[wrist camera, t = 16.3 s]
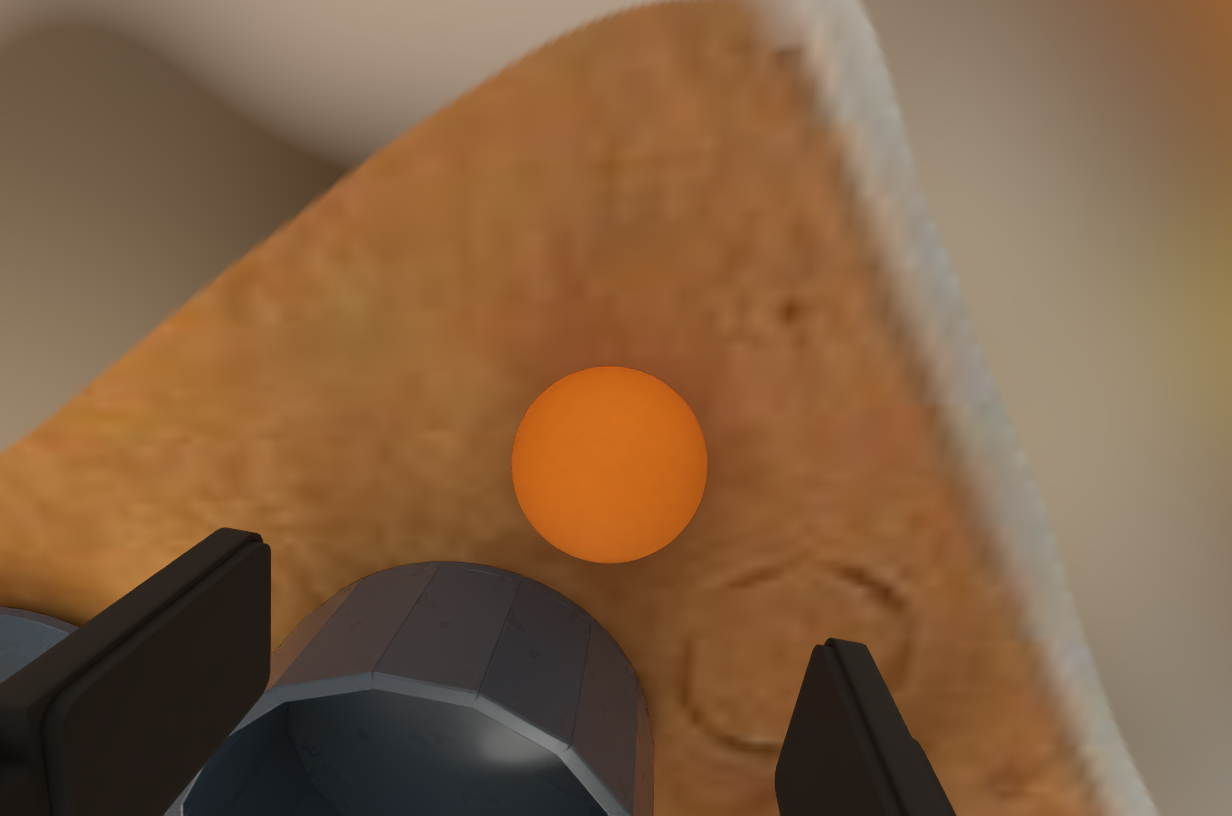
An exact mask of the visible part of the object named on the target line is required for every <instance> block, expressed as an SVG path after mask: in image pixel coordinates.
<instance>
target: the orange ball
mask: <svg viewBox="0 0 1232 816" xmlns="http://www.w3.org/2000/svg"><path fill="white" fill-rule="evenodd" d="M707 465H708V460H707V450H706V444H705V440H704V436H703V433H702V431H701V428H700V426H699V423H698V421H697V419H696V417H695V416H694V414H693V412H692V410H691V409H690V407H689V406H688V405H687V404H686V402H685V401H684V400H683V399H682V398H681V397H680V396H679V395H678V394H677V393H676V392H675V391H674V390H673V389H672V388H670V387H669V386H668V385H666V384H665V383H664V382H662V381H660V380H658V379H657V378H655V377H653V376H651V375H649V374H646V373H644V372H641V371H638V370H634V369H630V368H625V367H617V366H602V367H595V368H589V369H585V370H581V371H578V372H575V373H573V374H570V375H568V376H566V377H564V378H562V379H560V380H559V381H557V382H555V383H554V384H553V385H551V386H550V387H549V388H548V389H546V390H545V391H544V392H543V393H542V394H541V395H540V396H539V397H538V398H537V399H536V400H535V401H534V402H533V404H532V405H531V406H530V408H529V409H528V411H527V412H526V414H525V416H524V418H523V420H522V421H521V423H520V426H519V428H518V431H517V434H516V436H515V440H514V445H513V450H512V464H511V469H512V480H513V485H514V489H515V493H516V496H517V499H518V501H519V504H520V506H521V508H522V510H523V512H524V514H525V516H526V517H527V519H528V520H529V522H530V523H531V525H532V526H533V527H534V528H535V529H536V530H537V531H538V533H539V534H540V535H541V536H542V537H543V538H545V539H546V540H547V541H548V542H549V543H550V544H552V545H553V546H555V547H556V548H558V549H559V550H561V551H563V552H565V553H567V554H569V555H571V556H574V557H576V558H579V559H583V560H587V561H591V562H598V563H621V562H628V561H632V560H636V559H639V558H642V557H645V556H647V555H650V554H652V553H654V552H656V551H658V550H660V549H661V548H663V547H664V546H666V545H667V544H668V543H670V542H671V541H672V540H673V539H674V538H676V537H677V536H678V535H679V534H680V532H681V531H682V530H683V529H684V528H685V527H686V526H687V524H688V523H689V522H690V520H691V519H692V517H693V516H694V514H695V512H696V510H697V508H698V506H699V504H700V502H701V499H702V496H703V492H704V489H705V486H706V479H707Z"/></svg>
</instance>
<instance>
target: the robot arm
mask: <svg viewBox="0 0 1232 816" xmlns="http://www.w3.org/2000/svg"><path fill="white" fill-rule="evenodd" d="M270 662H271V549H270V547H269V545H268V544H265V543H263V539H262V537H261V535H259V534H258V533H254V532H248V531H243V530H237V529H232V528H221V529H219V530H217V531H215V532H214V533H212V534H211V535H210V536H208V537H207V538H205V539H204V540H202V541H201V542H200V543H198V544H197V545H195V546H194V547H193V548H191V549H190V550H188V551H187V552H186V553H184V554H183V555H181V556H180V557H179V558H177V559H176V560H174V561H173V562H171V563H170V564H169V565H167V566H166V567H164V568H163V569H162V570H160V571H159V572H157V573H156V574H155V575H153V576H152V577H150V578H149V579H147V580H146V581H145V582H143V583H142V584H140V585H139V586H138V587H136V588H135V589H133V590H132V591H131V592H129V593H128V594H126V595H125V596H124V597H122V598H121V599H119V600H118V601H116V602H115V603H114V604H112V605H111V606H109V607H108V608H107V609H105V610H104V611H102V612H101V613H100V614H98V615H97V616H95V617H94V618H92V619H91V620H90V621H88V622H87V623H85V624H84V625H83V626H81V627H80V628H78V629H77V630H76V631H74V632H73V633H71V634H70V635H68V636H67V637H66V638H64V639H63V640H61V641H60V642H59V643H57V644H56V645H54V646H53V647H52V648H50V649H49V650H47V651H46V652H45V653H43V654H42V655H40V656H39V657H37V658H36V659H35V660H33V661H32V662H30V663H29V664H28V665H26V666H25V667H23V668H22V669H21V670H19V671H18V672H16V673H15V674H13V675H12V676H11V677H9V678H8V679H6V680H5V681H4V682H2V683H1V684H0V816H163V815H164V814H165V813H166V811H167V810H168V809H169V808H170V806H171V805H172V804H173V803H174V802H175V800H176V799H177V798H178V797H179V796H180V794H181V793H182V792H183V791H184V790H185V788H186V787H187V786H188V785H189V783H190V782H191V781H192V780H193V779H194V777H195V776H196V775H197V774H198V773H199V771H200V770H201V769H202V768H203V767H204V765H205V764H206V763H207V762H208V760H209V759H210V758H211V757H212V756H213V754H214V753H215V752H216V751H217V750H218V748H219V747H220V746H221V745H222V744H223V742H224V741H225V740H226V739H227V737H228V736H229V735H230V734H231V733H232V731H233V730H234V729H235V728H236V727H237V725H238V724H239V723H240V722H241V721H242V719H243V718H244V717H245V716H246V714H247V713H248V712H249V711H250V710H251V708H252V707H253V706H254V705H255V704H256V702H257V701H258V700H259V699H260V697H261V696H262V695H263V693H264V691H265V689H266V687H267V685H268V682H269V678H270ZM775 791H776V797H777V801H778V806H779V811H780V816H956V814H955V812H954V810H953V808H952V806H951V804H950V802H949V800H948V798H947V796H946V794H945V792H944V790H943V788H942V786H941V784H940V782H939V780H938V778H937V776H936V774H935V772H934V770H933V768H932V766H931V764H930V762H929V760H928V758H927V756H926V754H925V752H924V750H923V749H922V747H921V746H920V744H919V743H918V741H916V740H915V739H913V738H912V737H911V735H910V733H909V731H908V729H907V727H906V725H905V723H904V721H903V719H902V716H901V714H900V712H899V710H898V708H897V706H896V704H895V702H894V700H893V698H892V696H891V694H890V692H889V690H888V688H887V686H886V684H885V682H884V680H883V678H882V676H881V674H880V672H879V670H878V668H877V666H876V664H875V662H874V660H873V658H872V656H871V654H870V652H869V650H868V648H867V647H866V645H864V644H862V643H857V642H851V641H846V640H841V639H835V638H829V639H827V641H826V642H825V644H824V645H816V646H815V647H814V649H813V651H812V654H811V657H810V661H809V664H808V667H807V670H806V673H805V677H804V680H803V683H802V686H801V689H800V693H799V696H798V699H797V702H796V705H795V709H794V712H793V715H792V718H791V721H790V724H789V728H788V731H787V734H786V737H785V740H784V744H783V747H782V750H781V753H780V756H779V760H778V763H777V766H776V771H775Z"/></svg>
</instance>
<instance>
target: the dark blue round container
mask: <svg viewBox="0 0 1232 816" xmlns="http://www.w3.org/2000/svg"><path fill="white" fill-rule="evenodd" d="M166 816H654V741H653V737H652V733H651V729H650V720H649V714H648V708H647V703H646V700H645V696H644V693H643V690H642V687H641V684H640V682H639V680H638V678H637V676H636V674H635V672H634V670H633V668H632V666H631V664H630V662H629V660H628V659H627V657H626V656H625V655H624V653H623V652H622V650H621V649H620V647H619V646H618V644H617V643H616V642H615V641H614V639H613V638H612V637H611V636H610V635H609V634H608V633H607V632H606V631H605V629H604V628H603V627H602V626H601V625H600V624H599V623H598V622H597V621H596V620H594V619H593V618H592V617H591V616H590V615H589V614H587V613H586V612H585V611H584V610H583V609H582V608H580V607H579V606H578V605H576V604H575V603H573V602H572V601H570V600H569V599H567V598H566V597H564V596H563V595H561V594H560V593H558V592H556V591H554V590H552V589H550V588H548V587H546V586H544V585H542V584H540V583H538V582H537V581H534V580H531V579H529V578H526V577H524V576H521V575H518V574H516V573H513V572H510V571H506V570H502V569H498V568H494V567H490V566H486V565H479V564H471V563H464V562H424V563H415V564H407V565H403V566H399V567H395V568H390V569H386V570H383V571H380V572H377V573H375V574H372V575H370V576H367V577H365V578H362V579H360V580H358V581H356V582H355V583H353V584H351V585H349V586H347V587H346V588H344V589H342V590H340V591H339V592H338V593H337V594H335V595H334V596H333V597H331V598H330V599H329V600H327V601H326V602H325V603H324V604H323V605H322V606H321V607H319V608H318V609H316V610H315V611H313V612H312V613H310V614H308V615H307V616H306V617H305V618H304V619H303V620H302V622H301V623H300V624H299V625H298V626H297V627H296V628H295V629H294V630H293V632H292V633H291V634H290V635H289V636H288V637H287V638H286V639H285V640H284V641H283V643H282V644H281V645H280V646H279V647H278V648H277V649H276V650H275V651H274V652H273V654H272V655H271V662H270V678H269V682H268V685H267V687H266V689H265V691H264V693H263V695H262V696H261V697H260V699H259V700H258V701H257V702H256V704H255V705H254V706H253V707H252V708H251V710H250V711H249V712H248V713H247V714H246V716H245V717H244V718H243V719H242V721H241V722H240V723H239V724H238V725H237V727H236V728H235V729H234V730H233V731H232V733H231V734H230V735H229V736H228V737H227V739H226V740H225V741H224V742H223V744H222V745H221V746H220V747H219V748H218V750H217V751H216V752H215V753H214V754H213V756H212V757H211V758H210V759H209V760H208V762H207V763H206V764H205V765H204V767H203V768H202V769H201V770H200V771H199V773H198V774H197V775H196V776H195V777H194V779H193V780H192V781H191V782H190V783H189V785H188V786H187V787H186V788H185V790H184V791H183V792H182V793H181V794H180V796H179V797H178V798H177V799H176V800H175V802H174V803H173V804H172V805H171V806H170V808H169V809H168V810H167V811H166Z"/></svg>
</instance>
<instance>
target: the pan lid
mask: <svg viewBox="0 0 1232 816" xmlns="http://www.w3.org/2000/svg"><path fill="white" fill-rule="evenodd" d="M78 628H80V627H78V626H76V625H73V624H70V623H68V622H65V621H62V620H59V619H57V618H54V617H51V616H47V615H43V614H39V613H35V612H31V611H27V610H22V609H15V608H8V607H0V684H1V683H2V682H4V681H5V680H6V679H8V678H9V677H11V676H12V675H13V674H15V673H16V672H18V671H19V670H21V669H22V668H23V667H25V666H26V665H28V664H29V663H30V662H32V661H33V660H35V659H36V658H37V657H39V656H40V655H42V654H43V653H45V652H46V651H47V650H49V649H50V648H52V647H53V646H54V645H56V644H57V643H59V642H60V641H61V640H63V639H64V638H66V637H67V636H68V635H70V634H71V633H73V632H74V631H76V630H77V629H78ZM163 816H166V813H165V814H164V815H163Z"/></svg>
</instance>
